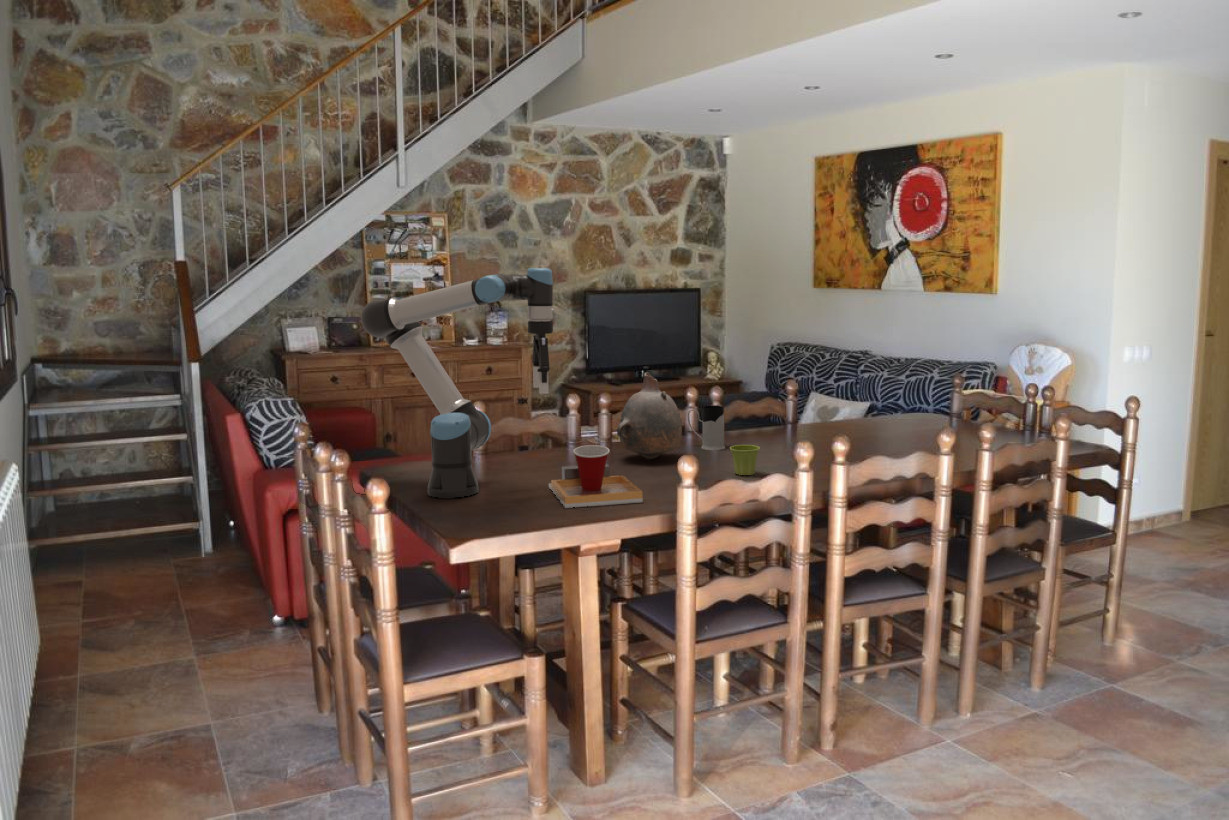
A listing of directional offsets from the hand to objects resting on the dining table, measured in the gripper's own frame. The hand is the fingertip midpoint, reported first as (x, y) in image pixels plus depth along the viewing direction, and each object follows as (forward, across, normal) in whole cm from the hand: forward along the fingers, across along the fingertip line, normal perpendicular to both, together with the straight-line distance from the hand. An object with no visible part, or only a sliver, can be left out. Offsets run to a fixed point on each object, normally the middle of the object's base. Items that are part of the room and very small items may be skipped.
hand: (540, 390), depth 305 cm
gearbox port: (+29, -15, -14) cm, 36 cm away
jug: (+29, +30, -42) cm, 59 cm away
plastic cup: (+28, -13, -13) cm, 34 cm away
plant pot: (+28, -1, -65) cm, 71 cm away
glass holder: (+29, +46, -67) cm, 86 cm away
